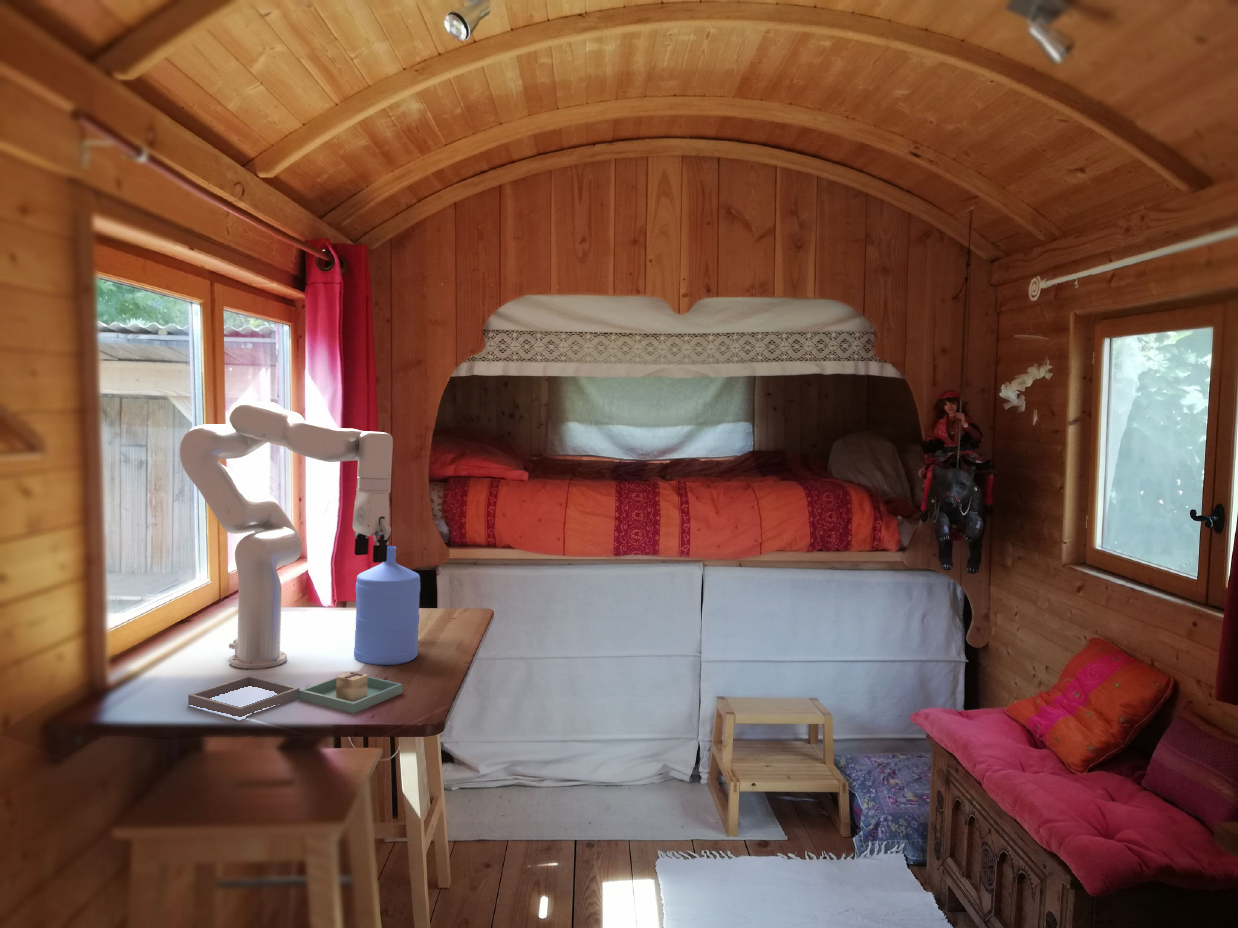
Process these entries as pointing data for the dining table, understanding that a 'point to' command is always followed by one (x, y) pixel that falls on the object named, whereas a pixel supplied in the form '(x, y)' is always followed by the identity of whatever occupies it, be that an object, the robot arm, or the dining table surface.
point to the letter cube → (351, 686)
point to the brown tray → (203, 697)
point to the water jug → (387, 613)
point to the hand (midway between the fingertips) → (370, 558)
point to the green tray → (327, 697)
